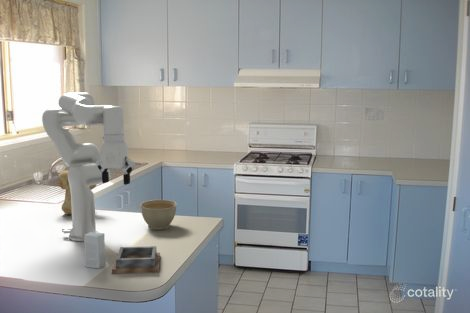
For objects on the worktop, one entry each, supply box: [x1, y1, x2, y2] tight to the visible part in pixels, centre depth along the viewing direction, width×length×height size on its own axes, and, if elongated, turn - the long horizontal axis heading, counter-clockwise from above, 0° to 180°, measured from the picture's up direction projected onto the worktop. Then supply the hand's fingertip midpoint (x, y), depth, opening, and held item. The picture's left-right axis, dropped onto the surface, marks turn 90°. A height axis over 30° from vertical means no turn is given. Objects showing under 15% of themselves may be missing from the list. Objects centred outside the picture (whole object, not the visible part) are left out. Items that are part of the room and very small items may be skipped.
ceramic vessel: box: [57, 169, 98, 216], centre depth 254 cm, size 17×20×25 cm
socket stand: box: [111, 245, 161, 275], centre depth 186 cm, size 16×16×4 cm
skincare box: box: [83, 232, 106, 269], centre depth 184 cm, size 6×4×12 cm
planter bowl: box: [140, 199, 178, 231], centre depth 231 cm, size 16×16×11 cm
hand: (116, 183), depth 195 cm, fingers open, 9 cm apart
